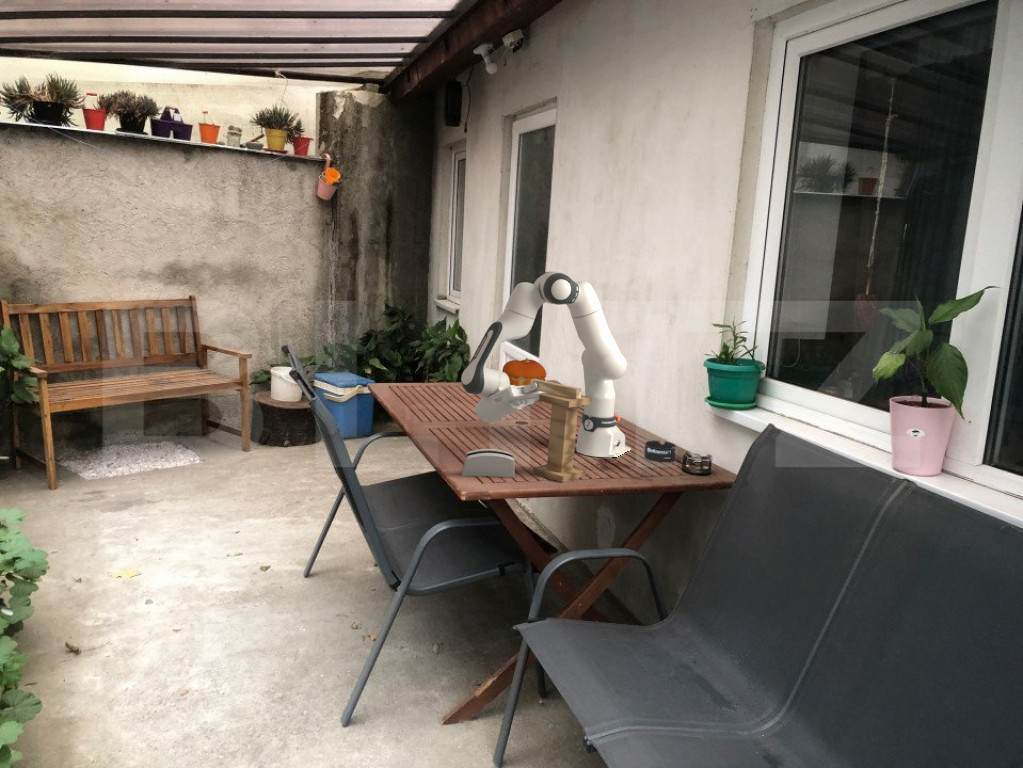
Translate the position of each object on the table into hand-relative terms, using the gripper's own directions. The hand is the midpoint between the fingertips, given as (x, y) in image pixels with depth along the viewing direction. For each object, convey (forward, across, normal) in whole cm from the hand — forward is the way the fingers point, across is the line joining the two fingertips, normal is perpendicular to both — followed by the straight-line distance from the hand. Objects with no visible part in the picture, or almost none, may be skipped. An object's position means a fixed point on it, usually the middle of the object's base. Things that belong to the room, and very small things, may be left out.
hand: (541, 384), depth 237 cm
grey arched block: (-17, -20, +23) cm, 35 cm away
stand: (-5, 0, +30) cm, 30 cm away
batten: (+4, 0, +5) cm, 6 cm away
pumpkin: (-88, +92, -18) cm, 129 cm away
